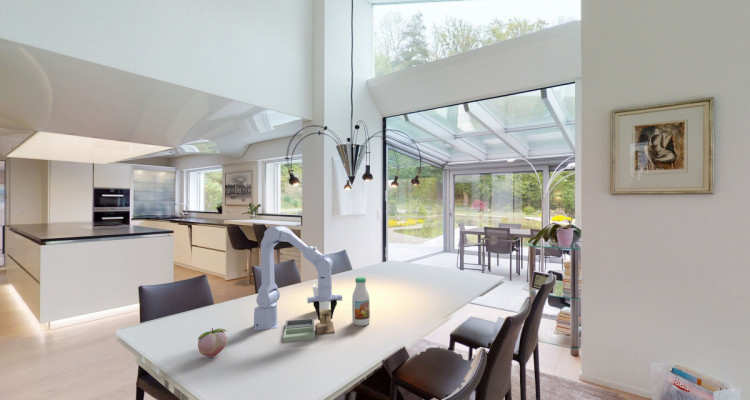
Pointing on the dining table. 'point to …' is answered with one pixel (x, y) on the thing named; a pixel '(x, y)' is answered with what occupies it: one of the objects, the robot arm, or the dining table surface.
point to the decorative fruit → (212, 342)
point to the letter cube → (325, 316)
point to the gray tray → (299, 323)
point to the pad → (325, 328)
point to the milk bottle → (360, 303)
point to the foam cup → (321, 304)
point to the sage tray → (298, 334)
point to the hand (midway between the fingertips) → (325, 318)
